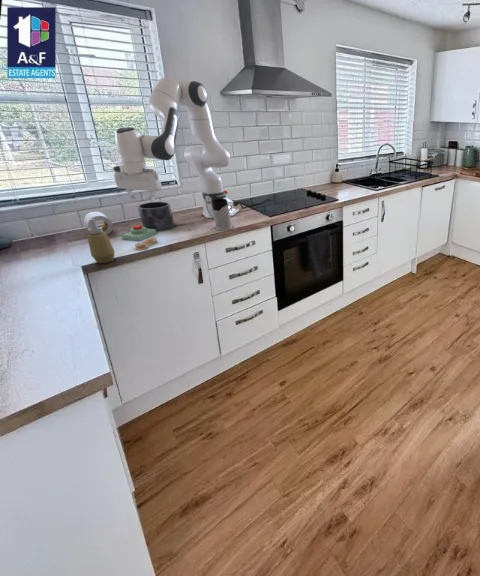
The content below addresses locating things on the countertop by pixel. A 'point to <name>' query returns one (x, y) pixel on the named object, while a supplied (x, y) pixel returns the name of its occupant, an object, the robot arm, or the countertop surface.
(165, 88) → the robot arm
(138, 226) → the button
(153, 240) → the bone dog treat
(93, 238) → the squeeze bottle
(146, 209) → the dark grey round container
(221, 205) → the grey and black mug
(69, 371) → the countertop surface
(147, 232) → the base
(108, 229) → the toilet paper
